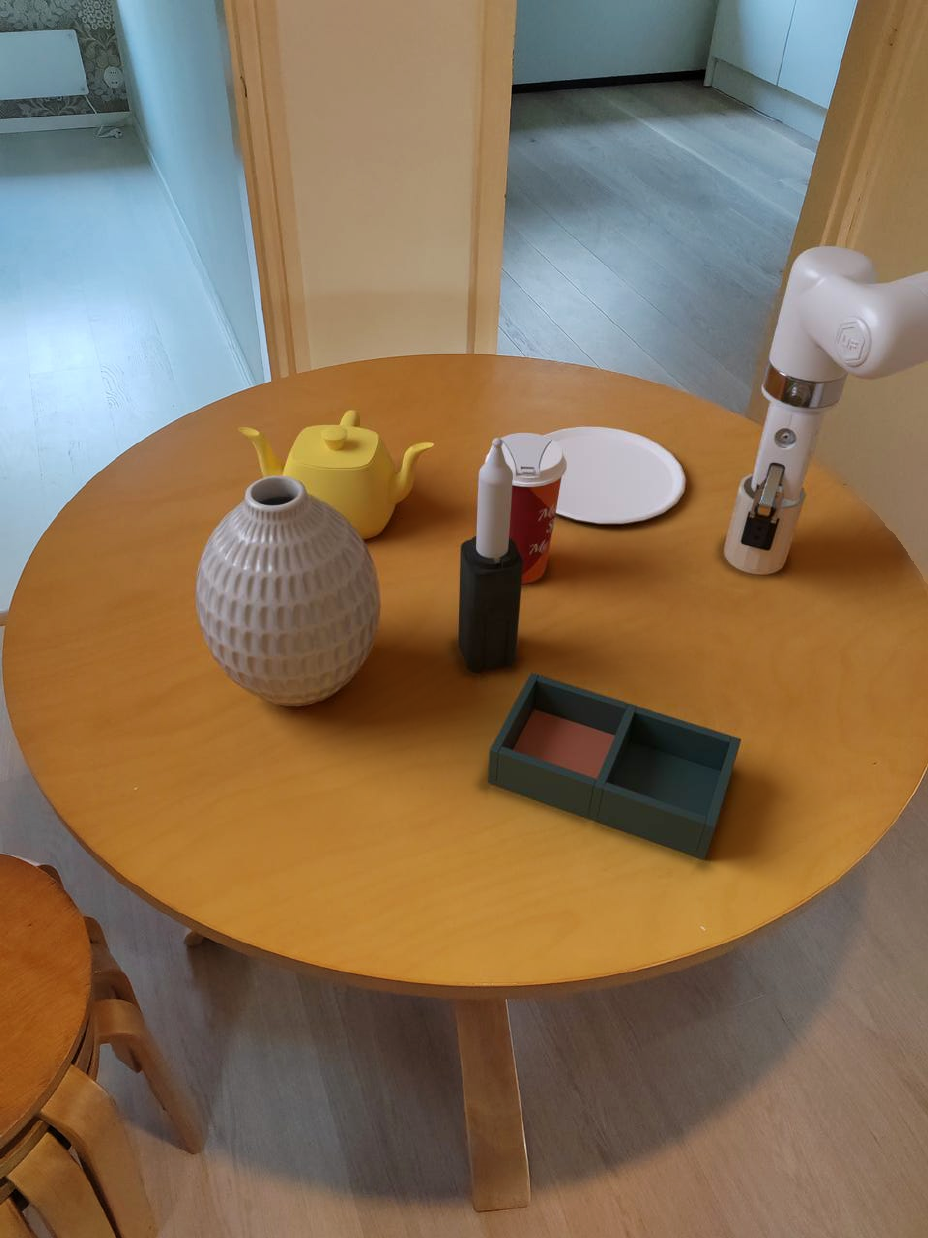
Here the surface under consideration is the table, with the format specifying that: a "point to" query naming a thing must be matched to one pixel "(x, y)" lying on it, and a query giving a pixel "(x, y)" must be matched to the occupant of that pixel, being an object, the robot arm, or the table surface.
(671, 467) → the plate
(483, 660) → the candle
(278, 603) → the vase
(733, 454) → the table surface
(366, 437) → the teapot
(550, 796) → the organiser
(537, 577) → the coffee cup
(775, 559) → the cup
